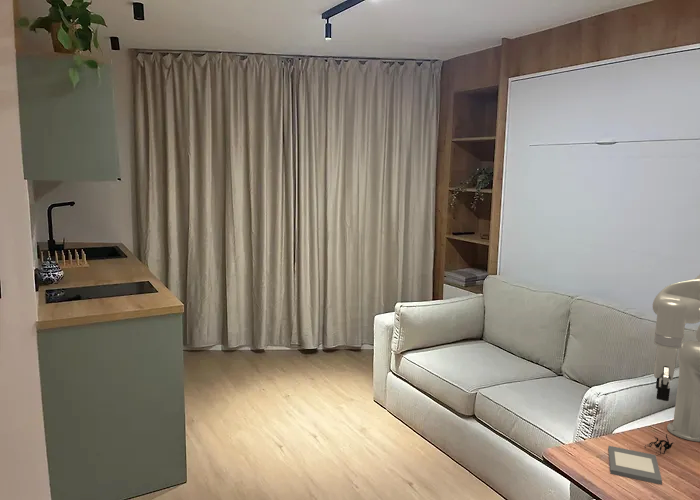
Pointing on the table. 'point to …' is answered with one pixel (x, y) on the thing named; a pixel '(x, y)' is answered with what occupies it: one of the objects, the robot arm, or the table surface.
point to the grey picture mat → (634, 465)
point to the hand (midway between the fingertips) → (661, 394)
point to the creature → (668, 446)
